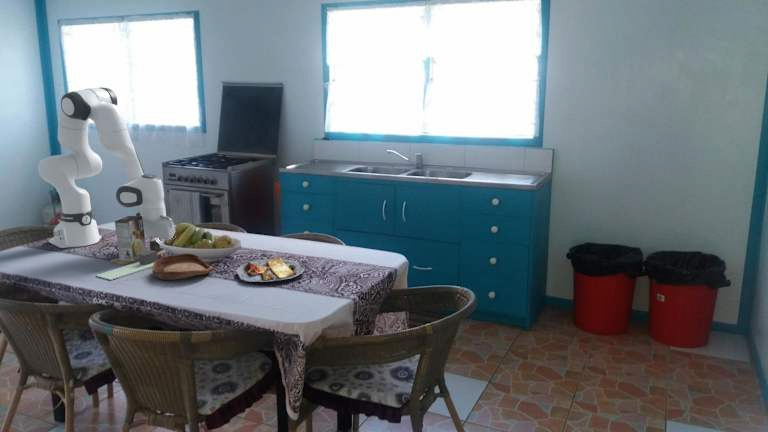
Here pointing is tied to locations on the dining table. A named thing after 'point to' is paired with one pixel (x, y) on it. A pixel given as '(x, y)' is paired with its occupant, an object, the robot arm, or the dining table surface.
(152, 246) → the walnut strip
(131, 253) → the coffee box
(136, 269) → the sage strip
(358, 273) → the dining table surface
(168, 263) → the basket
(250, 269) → the food plate
